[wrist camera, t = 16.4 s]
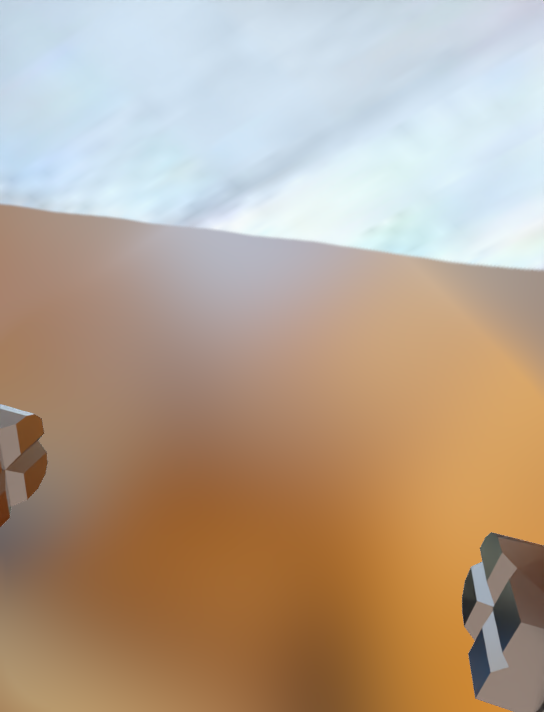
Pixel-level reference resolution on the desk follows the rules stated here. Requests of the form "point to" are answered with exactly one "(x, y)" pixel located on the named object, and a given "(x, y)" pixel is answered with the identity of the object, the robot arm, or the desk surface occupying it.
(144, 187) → the desk surface
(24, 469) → the robot arm
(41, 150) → the desk surface
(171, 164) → the desk surface
